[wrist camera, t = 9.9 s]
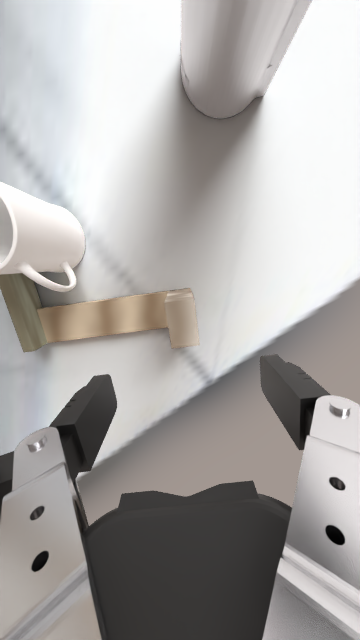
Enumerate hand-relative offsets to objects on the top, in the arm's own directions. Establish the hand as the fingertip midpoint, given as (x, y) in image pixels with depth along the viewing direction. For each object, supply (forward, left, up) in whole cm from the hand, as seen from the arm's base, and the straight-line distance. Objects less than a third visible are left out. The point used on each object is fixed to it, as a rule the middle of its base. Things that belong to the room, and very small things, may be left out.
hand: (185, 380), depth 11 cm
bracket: (+10, -7, -20) cm, 23 cm away
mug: (+15, -10, -20) cm, 27 cm away
